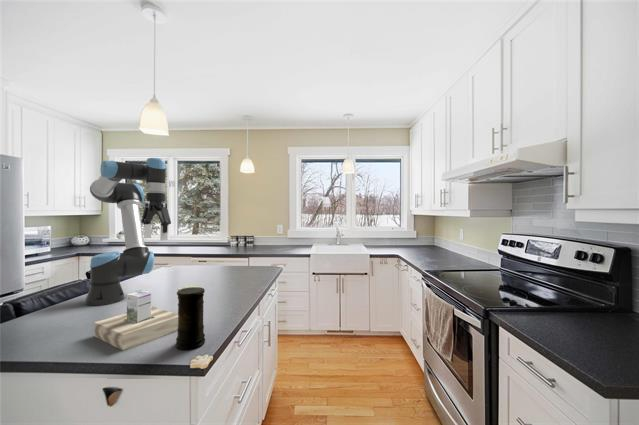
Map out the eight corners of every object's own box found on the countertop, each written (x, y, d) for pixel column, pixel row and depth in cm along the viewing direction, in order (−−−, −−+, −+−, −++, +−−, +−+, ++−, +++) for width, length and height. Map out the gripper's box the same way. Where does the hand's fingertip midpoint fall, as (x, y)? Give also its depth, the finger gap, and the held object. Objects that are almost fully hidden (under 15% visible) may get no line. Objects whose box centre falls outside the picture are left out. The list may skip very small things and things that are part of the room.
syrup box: (152, 330, 107) (152, 291, 107) (137, 337, 101) (137, 295, 101) (141, 328, 109) (141, 289, 109) (125, 334, 103) (125, 293, 103)
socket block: (94, 336, 102) (94, 322, 102) (152, 318, 119) (152, 306, 119) (122, 350, 91) (123, 334, 91) (181, 328, 108) (181, 315, 108)
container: (181, 338, 100) (182, 286, 100) (208, 337, 101) (208, 286, 101) (170, 351, 91) (170, 294, 91) (200, 350, 92) (200, 293, 92)
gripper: (133, 192, 135) (132, 238, 135) (163, 191, 122) (162, 241, 122) (149, 193, 142) (149, 236, 142) (179, 192, 128) (179, 240, 129)
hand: (155, 239), depth 132 cm, fingers open, 13 cm apart
